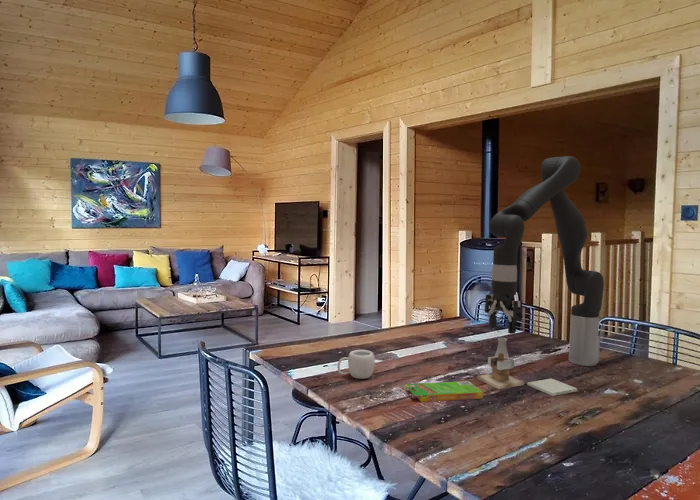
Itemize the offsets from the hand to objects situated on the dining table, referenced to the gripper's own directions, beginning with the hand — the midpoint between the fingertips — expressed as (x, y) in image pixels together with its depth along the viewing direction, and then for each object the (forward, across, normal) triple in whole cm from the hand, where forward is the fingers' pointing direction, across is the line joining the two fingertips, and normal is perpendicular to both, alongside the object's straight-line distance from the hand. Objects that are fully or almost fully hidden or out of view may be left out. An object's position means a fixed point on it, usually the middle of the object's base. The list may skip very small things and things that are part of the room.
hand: (502, 330), depth 158 cm
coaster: (+16, -10, -11) cm, 23 cm away
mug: (+17, +22, +40) cm, 49 cm away
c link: (+12, 0, 0) cm, 12 cm away
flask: (+17, +12, -11) cm, 23 cm away
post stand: (+16, 0, 0) cm, 17 cm away
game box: (+17, -2, +23) cm, 29 cm away
